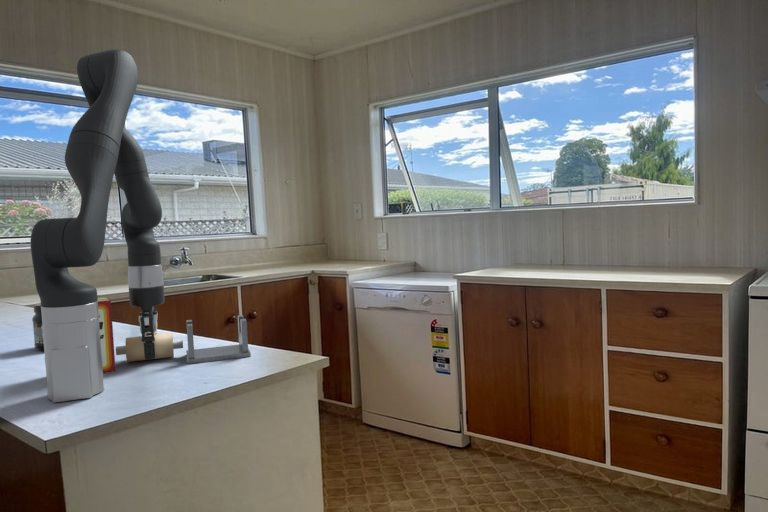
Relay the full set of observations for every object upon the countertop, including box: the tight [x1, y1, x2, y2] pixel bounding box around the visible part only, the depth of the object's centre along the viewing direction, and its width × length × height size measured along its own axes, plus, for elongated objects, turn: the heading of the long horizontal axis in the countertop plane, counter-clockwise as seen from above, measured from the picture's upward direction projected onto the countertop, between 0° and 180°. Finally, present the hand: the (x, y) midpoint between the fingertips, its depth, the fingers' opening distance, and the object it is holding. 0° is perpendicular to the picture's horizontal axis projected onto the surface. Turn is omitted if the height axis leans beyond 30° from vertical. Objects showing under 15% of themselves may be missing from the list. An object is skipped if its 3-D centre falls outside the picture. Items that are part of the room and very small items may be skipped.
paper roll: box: [115, 332, 184, 363], centre depth 126 cm, size 14×6×6 cm, turn 111°
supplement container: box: [31, 302, 44, 352], centre depth 144 cm, size 10×10×12 cm
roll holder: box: [186, 314, 252, 365], centre depth 128 cm, size 10×14×8 cm
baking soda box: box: [97, 296, 117, 374], centre depth 117 cm, size 10×6×16 cm
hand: (150, 355), depth 126 cm, fingers closed on paper roll, 5 cm apart
